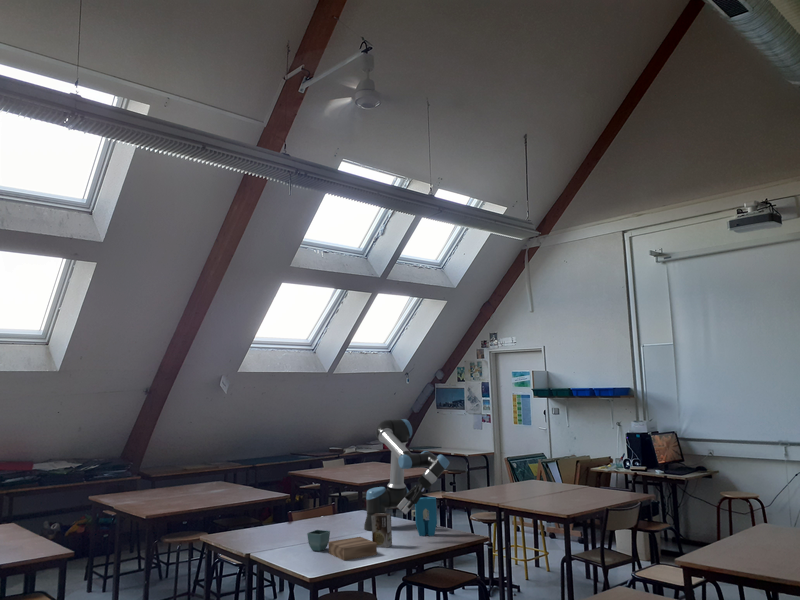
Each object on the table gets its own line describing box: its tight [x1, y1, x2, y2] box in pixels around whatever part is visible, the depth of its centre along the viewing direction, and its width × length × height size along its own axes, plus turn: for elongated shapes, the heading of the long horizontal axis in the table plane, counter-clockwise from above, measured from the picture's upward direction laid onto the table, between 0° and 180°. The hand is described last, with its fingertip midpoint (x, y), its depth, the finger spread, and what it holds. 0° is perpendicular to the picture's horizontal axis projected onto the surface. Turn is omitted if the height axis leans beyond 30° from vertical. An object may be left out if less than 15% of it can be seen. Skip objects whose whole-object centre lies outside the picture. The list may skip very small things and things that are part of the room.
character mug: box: [411, 509, 429, 530], centre depth 348 cm, size 11×7×13 cm, turn 84°
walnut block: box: [328, 536, 378, 562], centre depth 296 cm, size 18×18×6 cm
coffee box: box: [371, 512, 393, 548], centre depth 312 cm, size 9×6×16 cm
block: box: [414, 496, 438, 537], centre depth 335 cm, size 12×5×20 cm, turn 86°
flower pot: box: [306, 529, 331, 552], centre depth 307 cm, size 9×9×9 cm
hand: (401, 510), depth 316 cm, fingers open, 13 cm apart
